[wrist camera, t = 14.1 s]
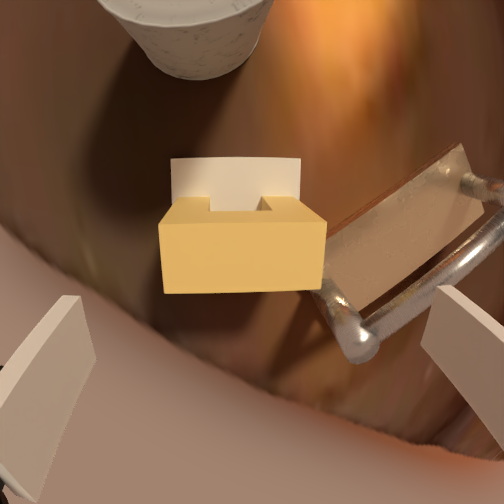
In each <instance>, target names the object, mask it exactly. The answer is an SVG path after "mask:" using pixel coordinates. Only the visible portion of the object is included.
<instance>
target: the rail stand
mask: <svg viewBox="0 0 504 504" xmlns="http://www.w3.org/2000/svg"><path fill="white" fill-rule="evenodd" d="M481 201H483V202H486V203H489V204H492V205H495V206H498V207H500V208H501V209H500V210H499V211H498V212H497V213H496V214H495V215H494V216H493V217H492V218H491V219H489V220H488V221H487V222H486V223H485V224H484V225H483V226H482V227H481V228H480V229H479V230H477V231H476V232H475V233H474V234H473V235H472V236H471V237H470V238H468V239H467V240H466V241H465V242H464V243H463V244H462V245H460V246H459V247H458V248H457V249H456V250H455V251H453V252H452V253H451V254H450V255H449V256H447V257H446V258H445V259H444V260H443V261H441V262H440V263H439V264H438V265H436V266H435V267H434V268H433V269H431V270H430V271H429V272H428V273H426V274H425V275H424V276H423V277H421V278H420V279H419V280H418V281H416V282H415V283H414V284H412V285H411V286H410V287H408V288H407V289H406V290H404V291H403V292H402V293H400V294H399V295H398V296H396V297H395V298H394V299H392V300H391V301H390V302H388V303H387V304H385V305H384V306H383V307H381V308H380V309H378V310H377V311H376V312H374V313H373V314H371V315H370V316H369V317H367V318H366V319H363V318H362V317H361V315H360V314H359V313H358V311H360V310H361V309H363V308H364V307H366V306H367V305H368V304H370V303H371V302H373V301H374V300H376V299H377V298H378V297H380V296H381V295H383V294H384V293H385V292H387V291H388V290H389V289H391V288H392V287H393V286H395V285H396V284H398V283H399V282H400V281H402V280H403V279H404V278H406V277H407V276H408V275H409V274H411V273H412V272H413V271H415V270H416V269H417V268H419V267H420V266H421V265H422V264H424V263H425V262H426V261H427V260H429V259H430V258H431V257H432V256H434V255H435V254H436V253H437V252H439V251H440V250H441V249H442V248H444V247H445V246H446V245H447V244H448V243H450V242H451V241H452V240H453V239H454V238H456V237H457V236H458V235H459V234H460V233H461V232H463V231H464V230H465V229H466V228H467V227H468V226H470V225H471V224H472V223H473V222H474V221H475V220H476V219H477V218H479V217H480V216H481V215H482V214H483V213H484V210H483V206H482V203H481ZM503 241H504V180H500V179H496V178H492V177H488V176H484V175H479V174H475V173H472V171H471V168H470V165H469V163H468V160H467V157H466V154H465V152H464V149H463V147H462V144H461V143H453V144H451V145H450V146H449V147H447V148H446V149H444V150H443V151H442V152H440V153H439V154H438V155H436V156H435V157H433V158H432V159H431V160H429V161H428V162H427V163H425V164H424V165H422V166H421V167H420V168H418V169H417V170H415V171H414V172H413V173H411V174H410V175H408V176H407V177H406V178H404V179H403V180H401V181H400V182H399V183H397V184H396V185H394V186H393V187H392V188H390V189H389V190H387V191H386V192H385V193H383V194H382V195H380V196H379V197H377V198H376V199H375V200H373V201H372V202H370V203H369V204H367V205H366V206H365V207H363V208H362V209H360V210H359V211H357V212H356V213H355V214H353V215H352V216H350V217H349V218H347V219H346V220H344V221H343V222H342V223H340V224H339V225H337V226H336V227H334V228H333V229H331V230H330V231H328V232H327V233H326V242H325V253H324V264H323V274H322V284H321V289H314V290H308V291H309V293H310V294H311V296H312V298H313V300H314V301H315V303H316V305H317V307H318V308H319V310H320V312H321V314H322V315H323V317H324V319H325V321H326V322H327V324H328V326H329V328H330V329H331V331H332V333H333V335H334V336H335V338H336V340H337V342H338V343H339V345H340V347H341V349H342V351H343V352H344V354H345V356H346V358H347V359H348V361H349V362H351V363H353V364H361V363H365V362H367V361H369V360H370V359H371V358H373V357H374V356H375V354H376V353H377V351H378V349H379V344H380V343H381V342H383V341H384V340H385V339H387V338H388V337H390V336H391V335H392V334H394V333H395V332H397V331H398V330H399V329H401V328H402V327H404V326H405V325H406V324H408V323H409V322H410V321H412V320H413V319H414V318H416V317H417V316H418V315H419V314H421V313H422V312H423V311H425V310H426V309H427V308H428V307H430V306H431V305H432V302H433V299H434V295H435V290H436V286H443V285H451V286H453V287H454V286H455V285H456V284H458V283H459V282H460V281H461V280H462V279H463V278H465V277H466V276H467V275H468V274H469V273H470V272H471V271H472V270H474V269H475V268H476V267H477V266H478V265H479V264H480V263H481V262H482V261H483V260H484V259H485V258H487V257H488V256H489V255H490V254H491V253H492V252H493V251H494V250H495V249H496V248H497V247H498V246H499V245H500V244H501V243H502V242H503Z"/></svg>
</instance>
